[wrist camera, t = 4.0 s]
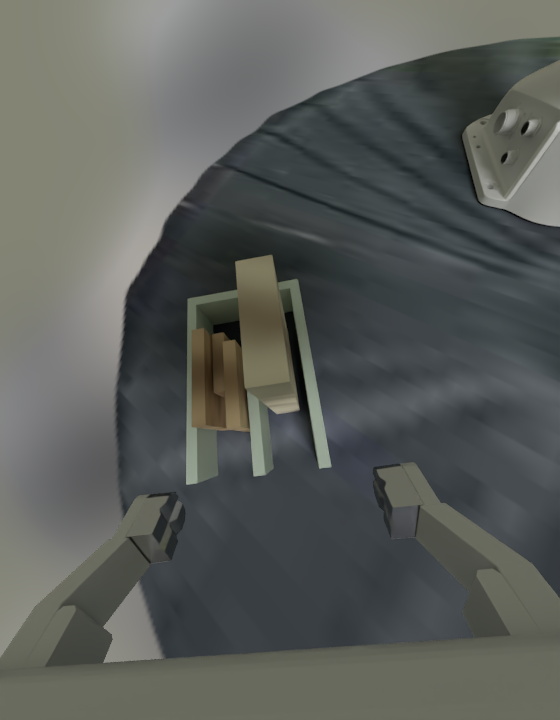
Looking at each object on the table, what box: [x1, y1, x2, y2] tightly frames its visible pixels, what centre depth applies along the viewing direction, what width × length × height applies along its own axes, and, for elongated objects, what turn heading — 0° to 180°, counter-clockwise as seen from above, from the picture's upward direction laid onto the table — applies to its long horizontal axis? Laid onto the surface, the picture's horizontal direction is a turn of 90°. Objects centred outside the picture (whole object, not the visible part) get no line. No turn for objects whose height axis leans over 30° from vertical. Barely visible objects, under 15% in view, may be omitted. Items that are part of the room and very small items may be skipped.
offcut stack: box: [192, 328, 250, 432], centre depth 24 cm, size 10×4×8 cm, turn 7°
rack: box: [186, 279, 331, 485], centre depth 26 cm, size 19×13×5 cm, turn 7°
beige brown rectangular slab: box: [235, 255, 300, 414], centre depth 21 cm, size 9×3×14 cm, turn 7°
